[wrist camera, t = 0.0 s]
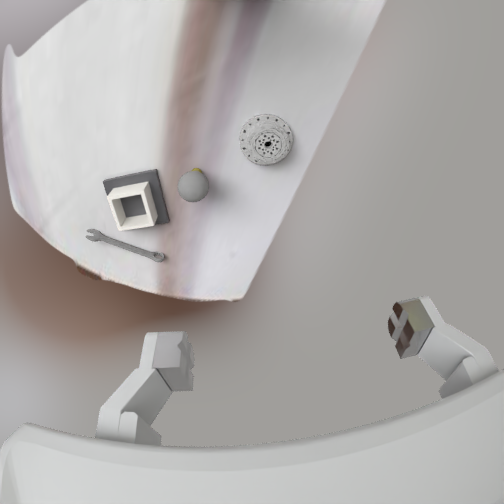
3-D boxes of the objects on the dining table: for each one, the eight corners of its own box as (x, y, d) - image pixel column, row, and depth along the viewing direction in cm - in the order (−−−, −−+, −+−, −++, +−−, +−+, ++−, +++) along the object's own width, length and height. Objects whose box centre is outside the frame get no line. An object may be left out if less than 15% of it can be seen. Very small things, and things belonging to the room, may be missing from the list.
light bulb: (203, 188, 58) (198, 212, 50) (179, 177, 56) (170, 199, 48) (215, 166, 55) (213, 187, 47) (191, 154, 53) (183, 173, 45)
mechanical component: (252, 105, 49) (230, 151, 54) (254, 109, 45) (231, 158, 51) (300, 127, 52) (277, 170, 57) (305, 132, 48) (280, 178, 54)
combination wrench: (163, 261, 65) (83, 233, 58) (162, 266, 65) (82, 237, 58) (165, 252, 68) (89, 224, 61) (164, 255, 68) (88, 228, 61)
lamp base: (104, 179, 54) (95, 190, 50) (156, 169, 54) (150, 178, 50) (120, 227, 62) (113, 240, 58) (169, 220, 62) (165, 232, 58)
